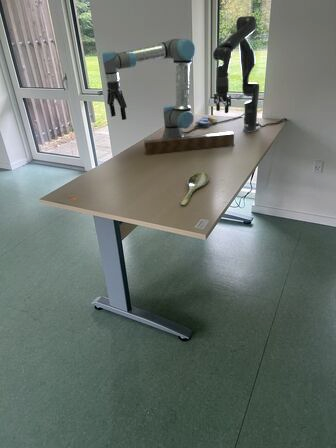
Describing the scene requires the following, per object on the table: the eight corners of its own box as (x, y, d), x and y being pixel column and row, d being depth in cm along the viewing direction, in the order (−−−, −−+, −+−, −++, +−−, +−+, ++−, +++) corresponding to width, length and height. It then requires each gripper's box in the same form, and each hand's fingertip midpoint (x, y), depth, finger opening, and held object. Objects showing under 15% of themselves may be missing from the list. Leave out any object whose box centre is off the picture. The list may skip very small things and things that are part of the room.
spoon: (193, 209, 156) (193, 205, 155) (172, 207, 159) (171, 203, 158) (212, 175, 182) (212, 172, 181) (193, 174, 186) (193, 170, 184)
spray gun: (219, 120, 278) (203, 120, 284) (219, 115, 276) (202, 115, 282) (211, 128, 263) (193, 127, 269) (211, 122, 261) (193, 122, 267)
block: (145, 154, 222) (144, 142, 217) (145, 152, 226) (144, 140, 222) (233, 145, 223) (234, 133, 219) (232, 143, 228) (232, 131, 223)
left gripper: (97, 80, 204) (104, 116, 215) (117, 84, 186) (123, 122, 197) (108, 78, 207) (114, 113, 218) (129, 81, 189) (134, 119, 200)
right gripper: (234, 84, 198) (234, 112, 207) (220, 82, 209) (220, 108, 218) (224, 86, 196) (224, 115, 204) (210, 84, 206) (210, 111, 215)
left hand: (118, 117), depth 208 cm, fingers open, 13 cm apart
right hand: (222, 111), depth 211 cm, fingers open, 8 cm apart
